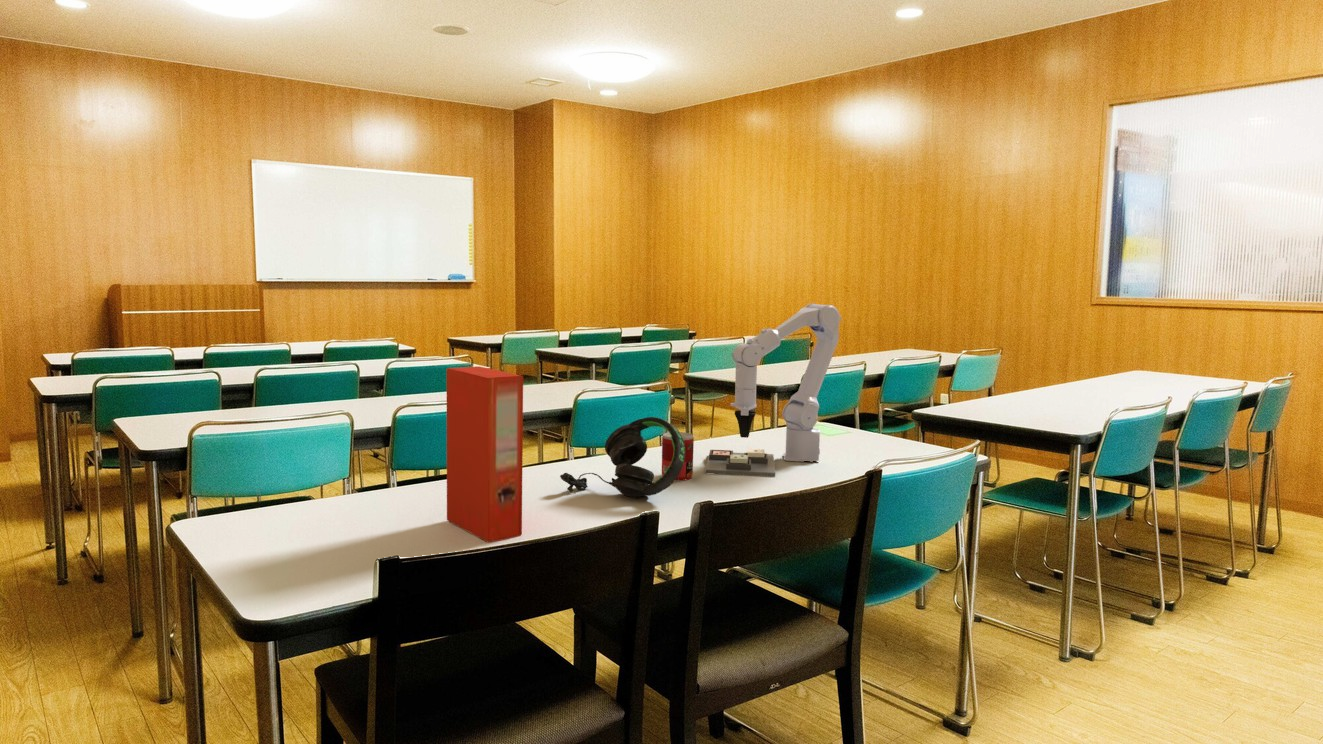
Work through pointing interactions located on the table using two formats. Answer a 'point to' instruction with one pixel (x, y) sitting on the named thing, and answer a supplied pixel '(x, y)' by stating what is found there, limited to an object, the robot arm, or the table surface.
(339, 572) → the table surface
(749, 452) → the key one
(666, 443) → the canned food
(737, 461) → the key two
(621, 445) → the headset
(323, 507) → the table surface
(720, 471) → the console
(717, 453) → the key three
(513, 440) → the file binder
